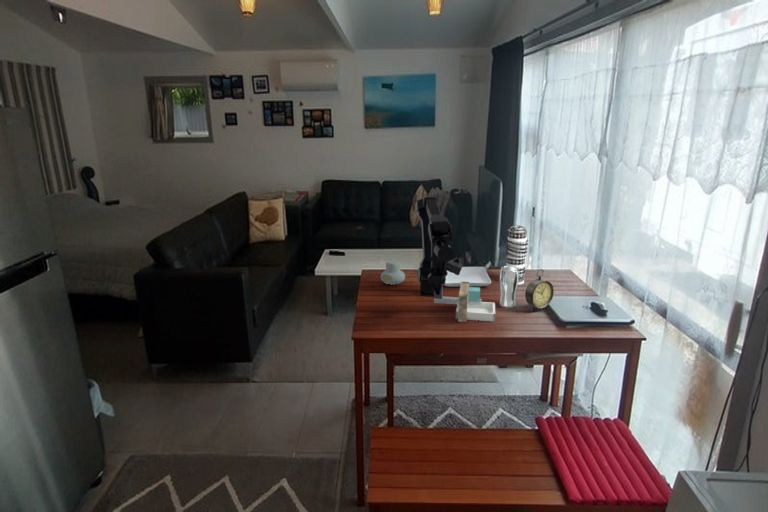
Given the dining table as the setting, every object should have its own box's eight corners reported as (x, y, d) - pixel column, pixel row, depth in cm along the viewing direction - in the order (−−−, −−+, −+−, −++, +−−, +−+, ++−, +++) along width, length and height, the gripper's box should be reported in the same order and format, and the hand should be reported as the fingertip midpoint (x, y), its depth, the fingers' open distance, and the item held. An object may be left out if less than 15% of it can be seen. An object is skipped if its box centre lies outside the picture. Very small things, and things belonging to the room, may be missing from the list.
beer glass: (517, 308, 178) (519, 272, 174) (498, 307, 179) (500, 271, 175) (516, 301, 184) (518, 266, 180) (498, 300, 186) (500, 265, 181)
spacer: (468, 301, 171) (468, 291, 170) (468, 297, 175) (469, 287, 174) (479, 301, 170) (480, 291, 169) (479, 297, 174) (480, 287, 173)
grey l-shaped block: (433, 303, 175) (434, 284, 172) (434, 300, 178) (435, 281, 175) (481, 306, 171) (482, 287, 169) (481, 303, 174) (482, 284, 172)
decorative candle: (527, 285, 202) (532, 229, 194) (506, 285, 202) (509, 229, 195) (522, 277, 211) (525, 224, 203) (501, 278, 211) (504, 224, 203)
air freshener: (408, 283, 207) (408, 261, 204) (396, 288, 201) (396, 266, 198) (389, 277, 214) (389, 257, 211) (377, 282, 208) (377, 261, 205)
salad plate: (441, 289, 200) (441, 282, 199) (439, 273, 220) (439, 266, 219) (491, 289, 198) (492, 282, 197) (484, 273, 219) (484, 266, 217)
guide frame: (458, 321, 168) (458, 296, 165) (460, 305, 182) (461, 281, 179) (466, 322, 168) (467, 296, 165) (468, 305, 182) (469, 281, 179)
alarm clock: (531, 314, 173) (535, 273, 168) (521, 309, 178) (524, 269, 173) (553, 308, 178) (556, 268, 173) (542, 303, 182) (545, 264, 178)
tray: (455, 318, 171) (455, 311, 170) (457, 307, 181) (457, 300, 180) (494, 321, 168) (495, 314, 167) (494, 309, 178) (494, 302, 177)
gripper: (459, 262, 160) (458, 304, 164) (462, 247, 177) (461, 285, 182) (427, 261, 162) (427, 302, 167) (433, 246, 179) (433, 284, 184)
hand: (438, 293), depth 175 cm, fingers closed on grey l-shaped block, 3 cm apart
